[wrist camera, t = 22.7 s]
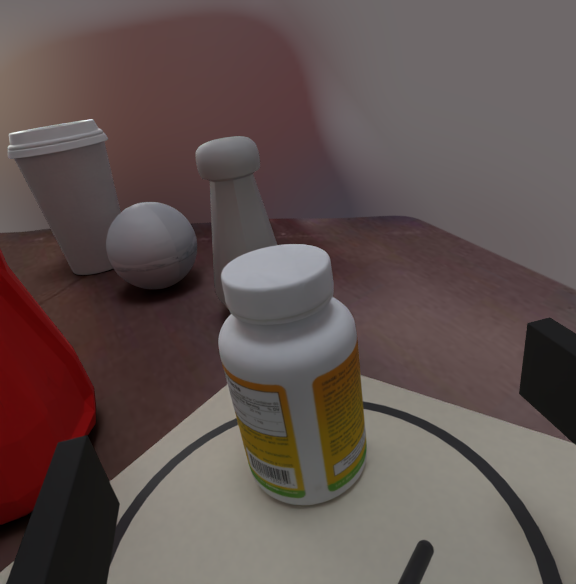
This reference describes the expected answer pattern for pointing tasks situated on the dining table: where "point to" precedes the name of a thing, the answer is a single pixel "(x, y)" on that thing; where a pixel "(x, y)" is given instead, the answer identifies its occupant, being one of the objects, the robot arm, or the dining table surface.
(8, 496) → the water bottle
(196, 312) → the dining table surface
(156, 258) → the bath bomb
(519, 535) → the face sheet
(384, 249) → the dining table surface
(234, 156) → the salt shaker
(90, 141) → the coffee cup
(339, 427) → the supplement bottle
